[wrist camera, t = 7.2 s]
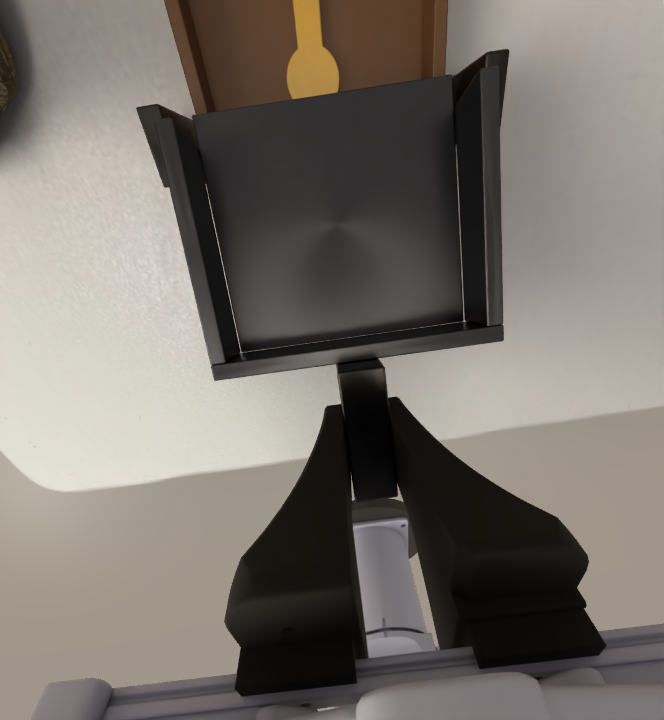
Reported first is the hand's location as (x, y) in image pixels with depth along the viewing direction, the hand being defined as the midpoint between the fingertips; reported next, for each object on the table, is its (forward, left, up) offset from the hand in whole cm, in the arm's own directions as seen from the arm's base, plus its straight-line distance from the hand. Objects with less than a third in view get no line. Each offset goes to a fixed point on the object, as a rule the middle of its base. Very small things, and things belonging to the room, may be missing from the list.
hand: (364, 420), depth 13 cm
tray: (+29, 0, -8) cm, 30 cm away
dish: (+4, 0, -3) cm, 5 cm away
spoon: (+14, 0, -8) cm, 16 cm away
